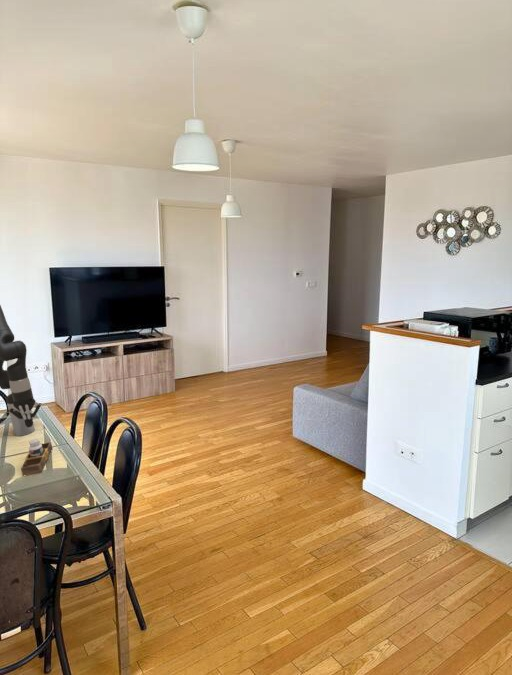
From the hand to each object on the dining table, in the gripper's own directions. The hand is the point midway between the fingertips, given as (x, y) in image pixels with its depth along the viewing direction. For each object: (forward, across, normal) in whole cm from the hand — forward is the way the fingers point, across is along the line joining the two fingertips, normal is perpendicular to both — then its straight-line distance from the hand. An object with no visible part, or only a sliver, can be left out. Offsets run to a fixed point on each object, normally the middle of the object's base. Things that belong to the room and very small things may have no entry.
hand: (29, 426), depth 198 cm
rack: (+17, 0, 0) cm, 17 cm away
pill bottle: (+16, 0, 0) cm, 16 cm away
